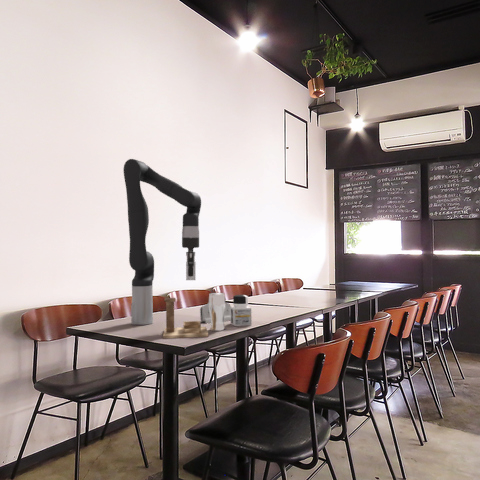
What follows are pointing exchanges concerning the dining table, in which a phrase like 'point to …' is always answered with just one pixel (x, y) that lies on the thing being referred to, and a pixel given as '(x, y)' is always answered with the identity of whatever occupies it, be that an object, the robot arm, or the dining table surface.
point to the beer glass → (217, 311)
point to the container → (240, 311)
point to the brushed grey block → (187, 272)
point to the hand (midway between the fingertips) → (190, 275)
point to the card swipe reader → (207, 318)
